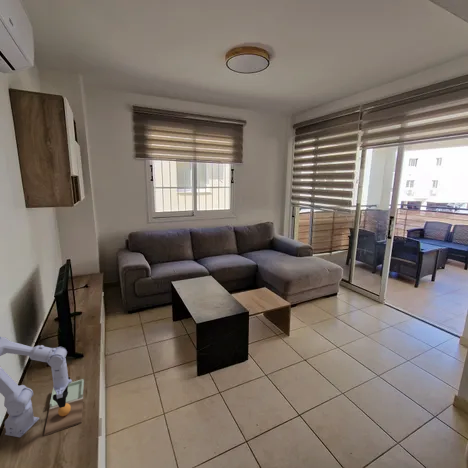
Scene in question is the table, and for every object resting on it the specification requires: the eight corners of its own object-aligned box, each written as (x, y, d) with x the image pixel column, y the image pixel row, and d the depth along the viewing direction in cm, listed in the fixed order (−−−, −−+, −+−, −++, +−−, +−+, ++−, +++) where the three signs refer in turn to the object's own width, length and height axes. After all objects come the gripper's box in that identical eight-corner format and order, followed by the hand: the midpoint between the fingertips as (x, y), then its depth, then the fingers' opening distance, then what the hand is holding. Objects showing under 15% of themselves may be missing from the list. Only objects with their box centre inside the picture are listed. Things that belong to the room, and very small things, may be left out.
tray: (82, 397, 132) (82, 394, 132) (50, 407, 126) (49, 404, 125) (84, 381, 142) (83, 378, 142) (53, 390, 136) (53, 387, 136)
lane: (81, 423, 119) (81, 421, 119) (44, 435, 113) (44, 433, 112) (84, 383, 143) (84, 381, 142) (53, 391, 136) (53, 390, 136)
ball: (65, 419, 119) (64, 410, 118) (56, 418, 120) (54, 408, 119) (73, 410, 124) (72, 401, 123) (64, 409, 125) (63, 400, 124)
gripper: (68, 382, 114) (72, 409, 116) (71, 362, 126) (74, 386, 129) (49, 388, 110) (53, 415, 113) (54, 366, 123) (57, 391, 126)
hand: (63, 400), depth 121 cm, fingers open, 7 cm apart
